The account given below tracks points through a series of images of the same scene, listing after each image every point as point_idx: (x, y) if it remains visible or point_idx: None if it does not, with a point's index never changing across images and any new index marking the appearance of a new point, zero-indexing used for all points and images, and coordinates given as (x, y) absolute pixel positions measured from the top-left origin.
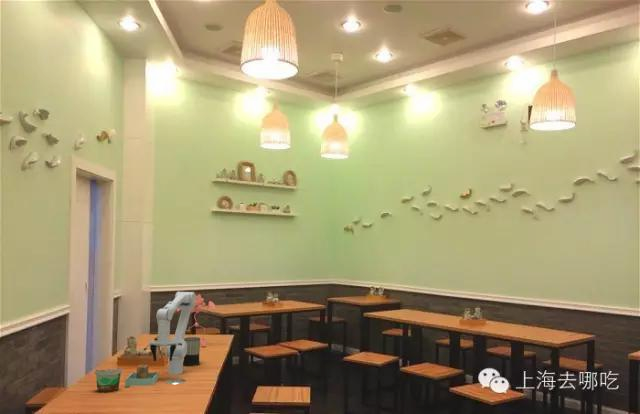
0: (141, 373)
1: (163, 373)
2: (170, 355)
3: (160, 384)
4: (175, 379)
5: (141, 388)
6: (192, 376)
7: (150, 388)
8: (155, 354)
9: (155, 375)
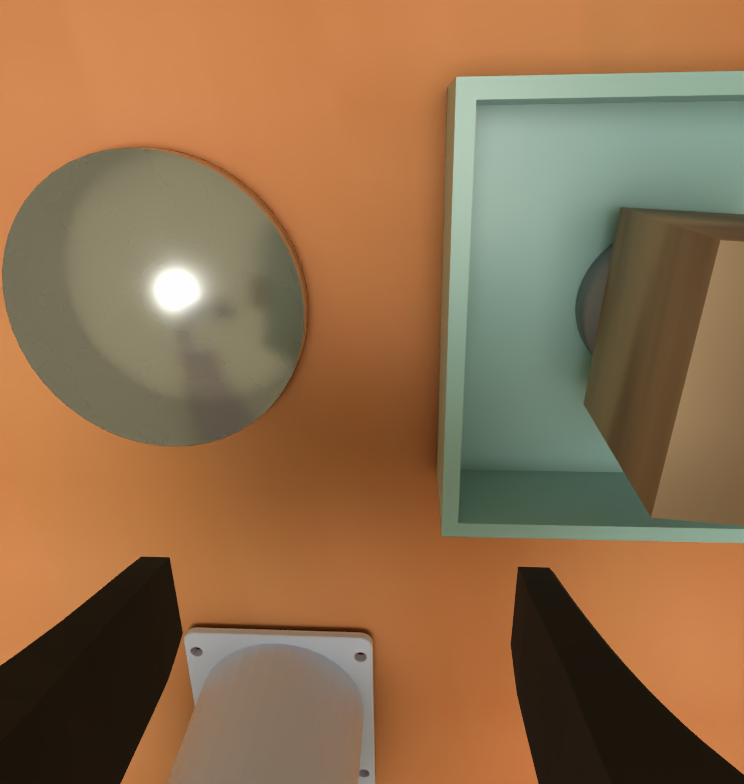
0: (740, 226)
1: (436, 759)
2: (78, 642)
3: (367, 267)
4: (191, 426)
5: (629, 10)
6: None
7: (478, 7)
8: (554, 736)
9: (459, 341)
